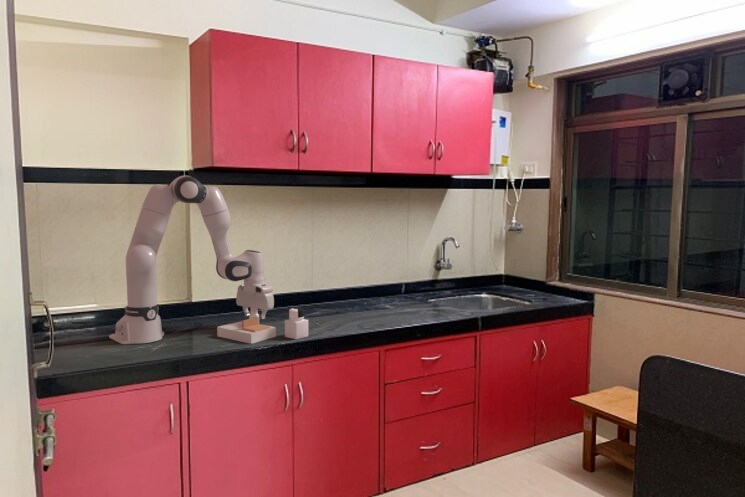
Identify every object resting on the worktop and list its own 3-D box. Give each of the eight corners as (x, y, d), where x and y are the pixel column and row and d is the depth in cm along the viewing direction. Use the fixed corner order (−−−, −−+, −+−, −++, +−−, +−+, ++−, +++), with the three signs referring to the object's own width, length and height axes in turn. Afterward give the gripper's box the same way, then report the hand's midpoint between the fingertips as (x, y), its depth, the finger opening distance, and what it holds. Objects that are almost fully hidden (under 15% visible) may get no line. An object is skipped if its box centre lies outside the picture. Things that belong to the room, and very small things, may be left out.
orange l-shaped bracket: (241, 329, 227) (241, 320, 227) (256, 325, 234) (256, 317, 234) (255, 332, 223) (254, 323, 223) (269, 328, 230) (269, 319, 230)
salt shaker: (258, 329, 245) (258, 308, 244) (249, 329, 244) (248, 308, 243) (259, 327, 249) (259, 306, 248) (250, 327, 248) (249, 306, 247)
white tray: (217, 336, 232) (217, 326, 231) (242, 329, 243) (242, 320, 243) (251, 343, 221) (251, 333, 220) (276, 336, 232) (275, 327, 232)
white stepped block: (297, 333, 237) (296, 306, 236) (308, 336, 233) (308, 308, 232) (284, 336, 232) (284, 308, 231) (296, 339, 227) (296, 311, 226)
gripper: (232, 285, 248) (233, 315, 249) (265, 289, 236) (266, 321, 238) (243, 283, 253) (243, 313, 254) (275, 287, 242) (276, 318, 243)
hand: (254, 317), depth 246 cm, fingers open, 8 cm apart
